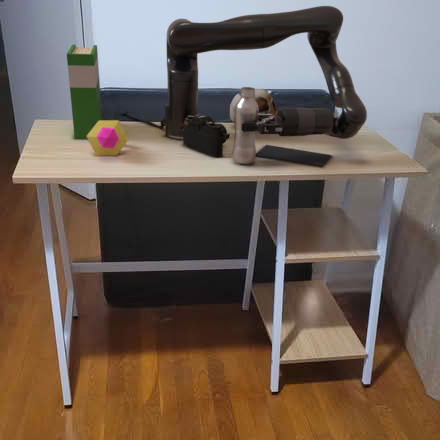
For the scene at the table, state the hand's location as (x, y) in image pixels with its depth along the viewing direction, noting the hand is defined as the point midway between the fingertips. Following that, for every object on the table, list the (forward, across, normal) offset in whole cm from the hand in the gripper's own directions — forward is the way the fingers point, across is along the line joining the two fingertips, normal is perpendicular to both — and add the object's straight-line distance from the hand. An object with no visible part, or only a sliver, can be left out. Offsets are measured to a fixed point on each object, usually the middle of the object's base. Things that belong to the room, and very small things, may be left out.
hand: (238, 123), depth 151 cm
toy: (+34, -12, +11) cm, 38 cm away
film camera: (+5, -14, +11) cm, 19 cm away
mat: (-18, -4, +11) cm, 22 cm away
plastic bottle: (-2, 0, +11) cm, 11 cm away
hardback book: (+39, -35, +11) cm, 54 cm away
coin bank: (-17, -35, +11) cm, 40 cm away
